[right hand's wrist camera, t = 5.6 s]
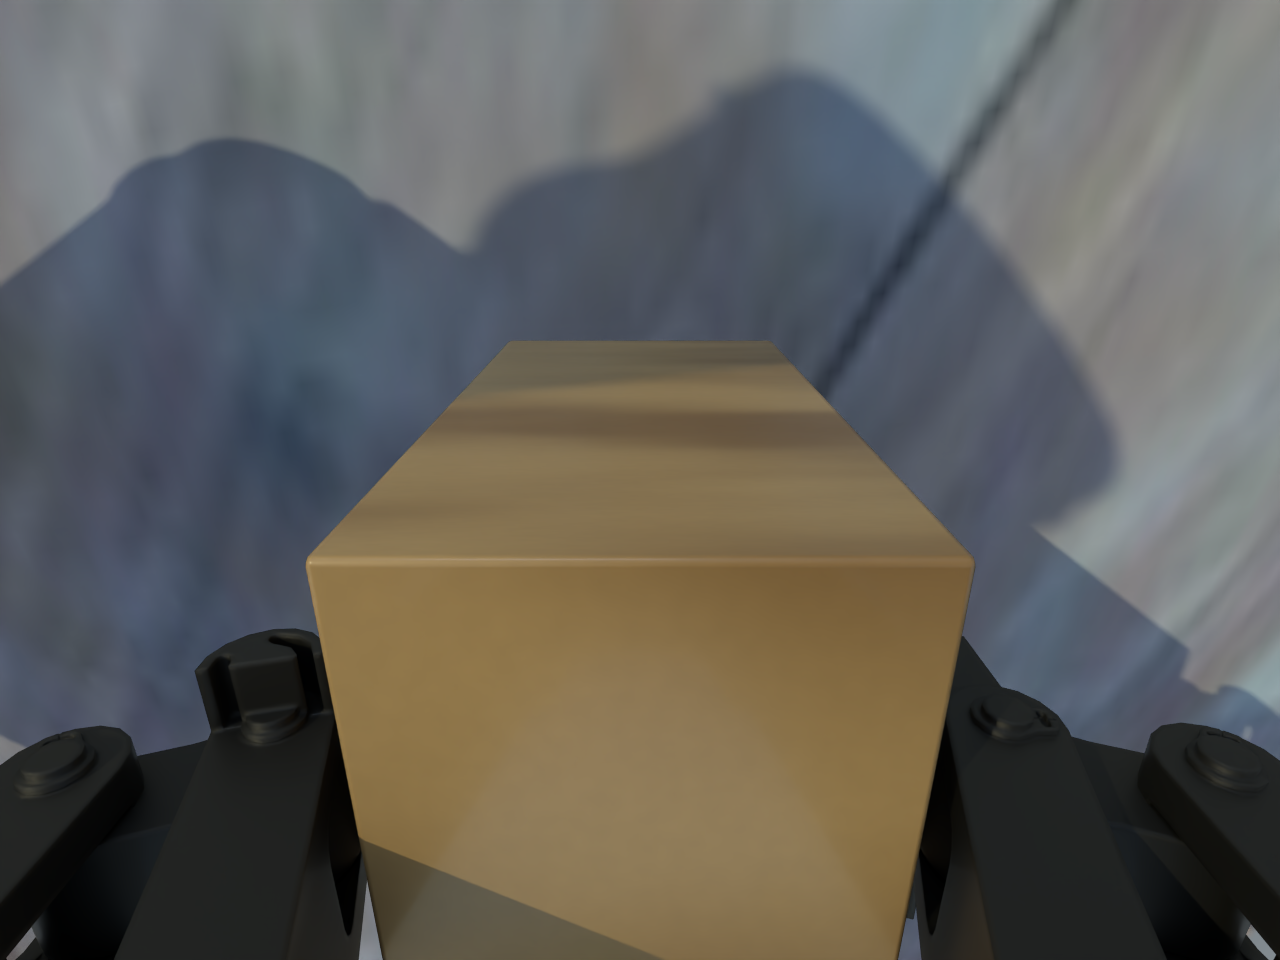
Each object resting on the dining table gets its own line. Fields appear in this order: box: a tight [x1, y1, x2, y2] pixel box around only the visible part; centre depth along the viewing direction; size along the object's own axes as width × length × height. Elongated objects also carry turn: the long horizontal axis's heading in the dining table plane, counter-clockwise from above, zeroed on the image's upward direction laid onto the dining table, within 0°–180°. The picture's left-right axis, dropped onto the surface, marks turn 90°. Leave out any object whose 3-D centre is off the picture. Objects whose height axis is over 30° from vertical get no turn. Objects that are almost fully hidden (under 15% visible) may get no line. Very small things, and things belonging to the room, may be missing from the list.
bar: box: [306, 341, 975, 960], centre depth 13 cm, size 22×5×9 cm, turn 0°
